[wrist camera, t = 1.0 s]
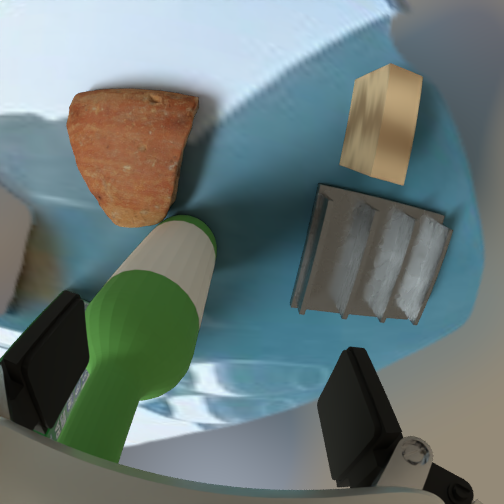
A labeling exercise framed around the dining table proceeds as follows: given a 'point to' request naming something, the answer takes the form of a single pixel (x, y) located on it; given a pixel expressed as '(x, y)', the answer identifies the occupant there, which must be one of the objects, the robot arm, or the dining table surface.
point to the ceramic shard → (131, 149)
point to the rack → (369, 256)
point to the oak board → (382, 123)
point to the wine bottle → (141, 333)
